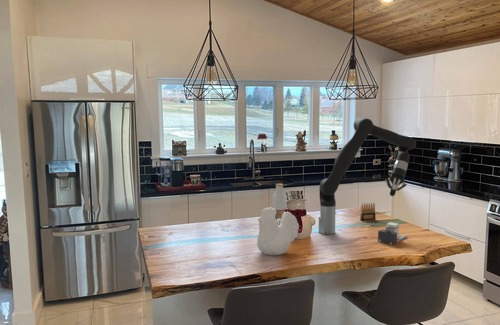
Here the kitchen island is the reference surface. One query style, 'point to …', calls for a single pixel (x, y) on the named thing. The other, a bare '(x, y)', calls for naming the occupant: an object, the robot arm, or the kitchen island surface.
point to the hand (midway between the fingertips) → (391, 195)
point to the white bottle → (279, 201)
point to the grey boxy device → (389, 236)
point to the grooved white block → (394, 228)
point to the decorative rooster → (276, 232)
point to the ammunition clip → (367, 212)
